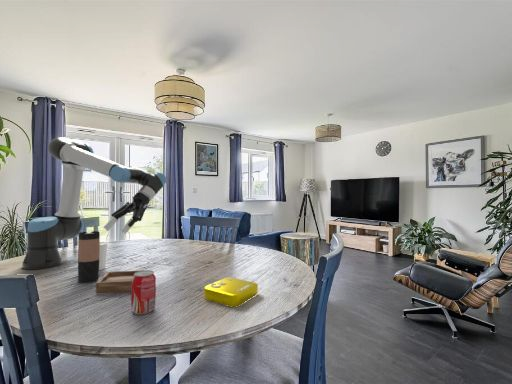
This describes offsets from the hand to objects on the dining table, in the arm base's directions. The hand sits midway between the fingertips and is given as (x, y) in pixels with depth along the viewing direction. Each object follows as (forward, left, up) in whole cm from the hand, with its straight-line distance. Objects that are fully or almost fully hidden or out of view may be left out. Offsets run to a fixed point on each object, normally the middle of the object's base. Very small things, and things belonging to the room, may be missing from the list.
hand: (114, 230), depth 122 cm
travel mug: (+7, -8, -20) cm, 22 cm away
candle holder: (-11, -11, -20) cm, 25 cm away
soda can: (+42, +19, -20) cm, 51 cm away
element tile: (+36, +48, -20) cm, 63 cm away
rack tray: (+17, +7, -20) cm, 27 cm away
